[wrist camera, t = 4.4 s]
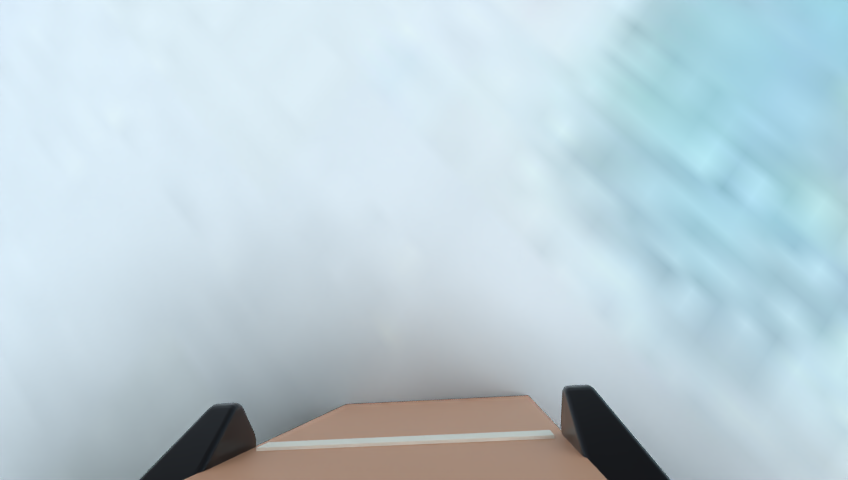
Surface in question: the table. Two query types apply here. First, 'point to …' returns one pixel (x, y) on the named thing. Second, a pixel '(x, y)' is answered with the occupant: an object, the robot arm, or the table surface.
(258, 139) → the table surface
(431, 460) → the end tile
